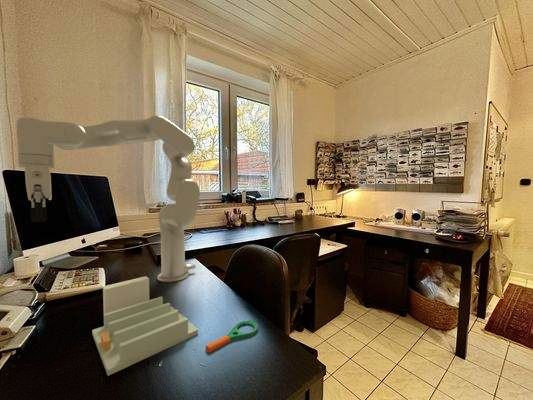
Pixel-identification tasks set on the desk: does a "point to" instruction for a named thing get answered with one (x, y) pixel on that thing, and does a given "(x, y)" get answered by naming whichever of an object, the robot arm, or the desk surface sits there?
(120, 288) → the panel
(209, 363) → the desk surface
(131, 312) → the rack
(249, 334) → the magnifying glass
